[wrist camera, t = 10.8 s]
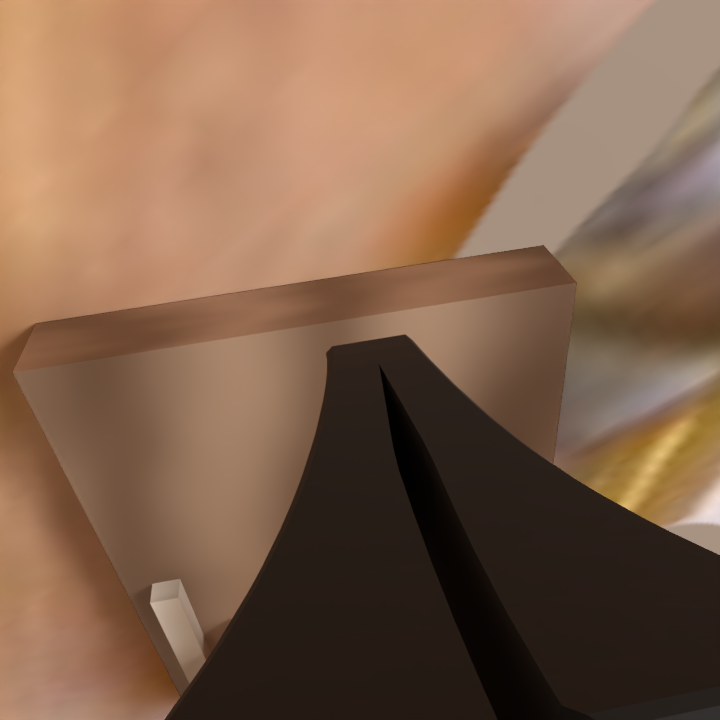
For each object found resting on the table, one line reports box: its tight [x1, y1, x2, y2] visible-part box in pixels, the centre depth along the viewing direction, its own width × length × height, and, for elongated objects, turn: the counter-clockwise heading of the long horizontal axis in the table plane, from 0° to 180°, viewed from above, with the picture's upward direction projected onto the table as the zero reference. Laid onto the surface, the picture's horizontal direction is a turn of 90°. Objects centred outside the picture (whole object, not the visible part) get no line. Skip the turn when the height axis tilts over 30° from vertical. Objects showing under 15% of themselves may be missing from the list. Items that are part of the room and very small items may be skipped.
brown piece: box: [13, 245, 577, 696], centre depth 25 cm, size 16×22×3 cm
